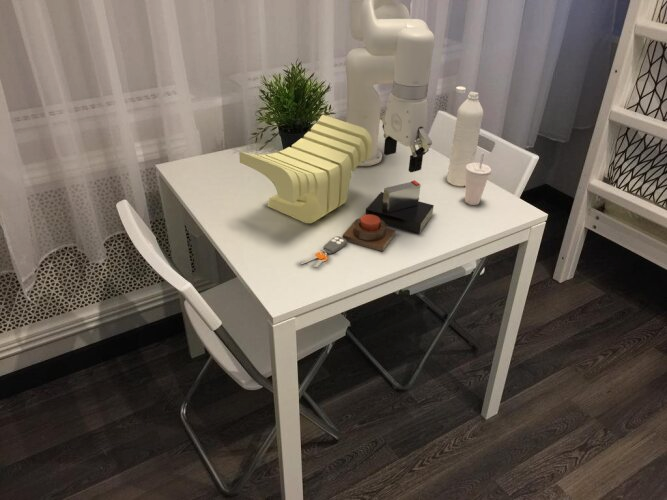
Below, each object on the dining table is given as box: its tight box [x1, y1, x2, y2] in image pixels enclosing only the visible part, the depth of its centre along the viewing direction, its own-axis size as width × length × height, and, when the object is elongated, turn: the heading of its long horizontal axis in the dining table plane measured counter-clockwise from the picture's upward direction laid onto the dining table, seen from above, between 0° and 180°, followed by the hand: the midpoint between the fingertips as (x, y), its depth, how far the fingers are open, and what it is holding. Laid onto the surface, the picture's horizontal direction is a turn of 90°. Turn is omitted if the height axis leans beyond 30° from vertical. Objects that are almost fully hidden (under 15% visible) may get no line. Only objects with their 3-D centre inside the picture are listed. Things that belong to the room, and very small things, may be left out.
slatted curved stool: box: [238, 114, 372, 224], centre depth 143 cm, size 30×16×18 cm, turn 142°
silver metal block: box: [382, 179, 421, 213], centre depth 142 cm, size 9×2×6 cm, turn 119°
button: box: [360, 214, 380, 231], centre depth 135 cm, size 4×4×2 cm
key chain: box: [300, 235, 348, 268], centre depth 130 cm, size 13×4×2 cm, turn 145°
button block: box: [342, 217, 396, 253], centre depth 136 cm, size 10×8×4 cm
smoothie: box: [464, 151, 492, 206], centre depth 149 cm, size 6×6×14 cm
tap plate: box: [364, 191, 435, 235], centre depth 144 cm, size 14×10×3 cm
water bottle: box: [446, 86, 484, 187], centre depth 156 cm, size 9×6×25 cm
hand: (401, 162), depth 136 cm, fingers open, 9 cm apart
